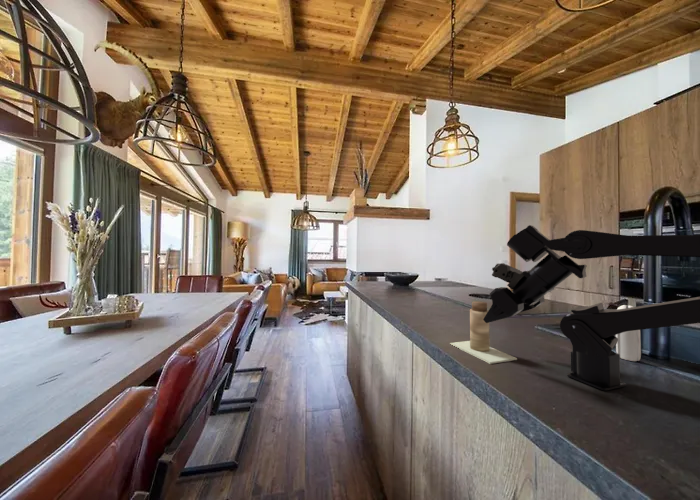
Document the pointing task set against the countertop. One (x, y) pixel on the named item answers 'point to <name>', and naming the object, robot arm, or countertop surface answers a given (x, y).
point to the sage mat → (485, 353)
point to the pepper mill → (479, 327)
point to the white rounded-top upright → (629, 343)
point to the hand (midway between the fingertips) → (493, 318)
